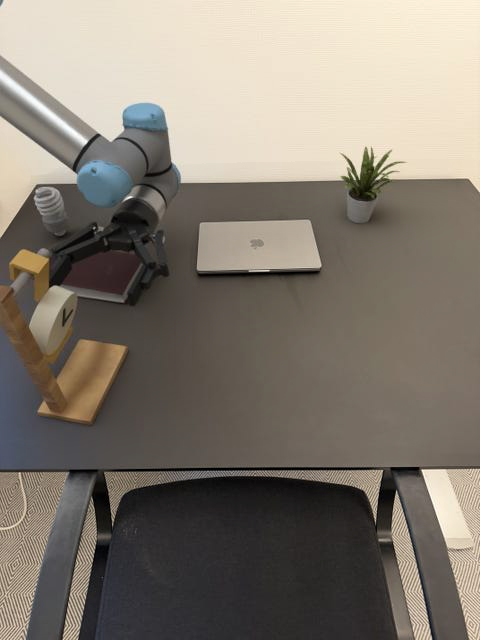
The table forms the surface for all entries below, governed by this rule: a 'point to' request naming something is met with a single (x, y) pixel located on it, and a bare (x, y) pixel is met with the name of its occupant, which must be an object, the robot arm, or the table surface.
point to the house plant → (365, 186)
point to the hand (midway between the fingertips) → (89, 294)
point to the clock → (46, 305)
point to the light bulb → (52, 210)
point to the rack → (77, 374)
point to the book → (102, 276)
